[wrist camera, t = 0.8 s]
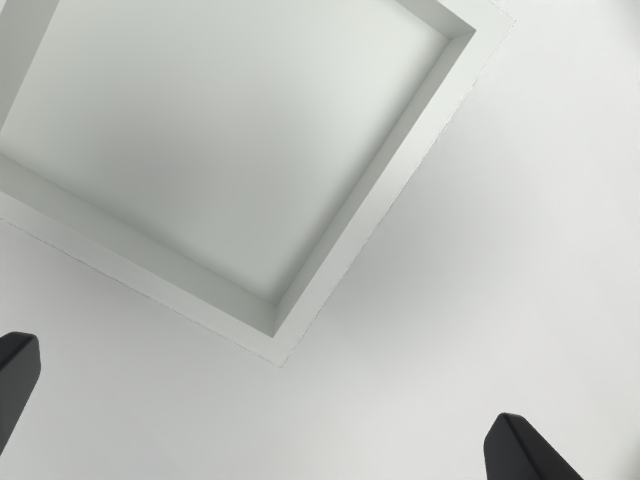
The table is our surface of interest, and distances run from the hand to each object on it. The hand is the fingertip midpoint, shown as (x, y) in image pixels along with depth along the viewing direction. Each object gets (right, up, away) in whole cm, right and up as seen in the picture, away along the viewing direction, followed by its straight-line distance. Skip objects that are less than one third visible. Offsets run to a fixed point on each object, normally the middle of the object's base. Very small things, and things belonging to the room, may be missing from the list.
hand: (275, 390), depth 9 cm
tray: (-3, +9, +12) cm, 15 cm away
